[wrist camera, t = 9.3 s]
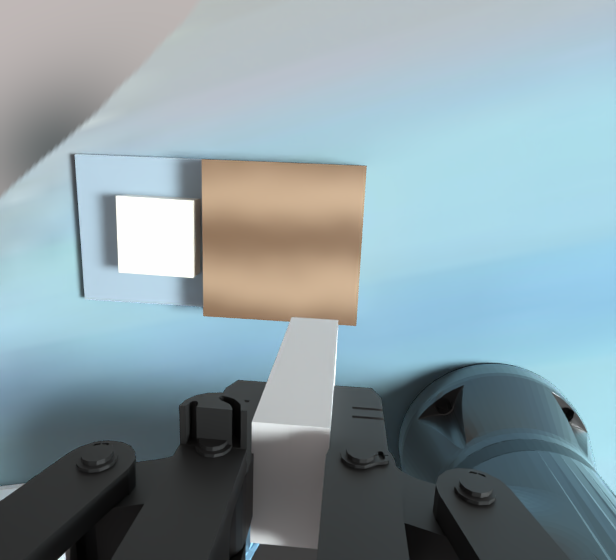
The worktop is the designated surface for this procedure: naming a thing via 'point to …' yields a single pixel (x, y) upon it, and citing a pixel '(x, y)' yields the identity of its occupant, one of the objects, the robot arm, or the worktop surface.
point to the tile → (158, 235)
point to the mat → (103, 225)
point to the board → (281, 240)
